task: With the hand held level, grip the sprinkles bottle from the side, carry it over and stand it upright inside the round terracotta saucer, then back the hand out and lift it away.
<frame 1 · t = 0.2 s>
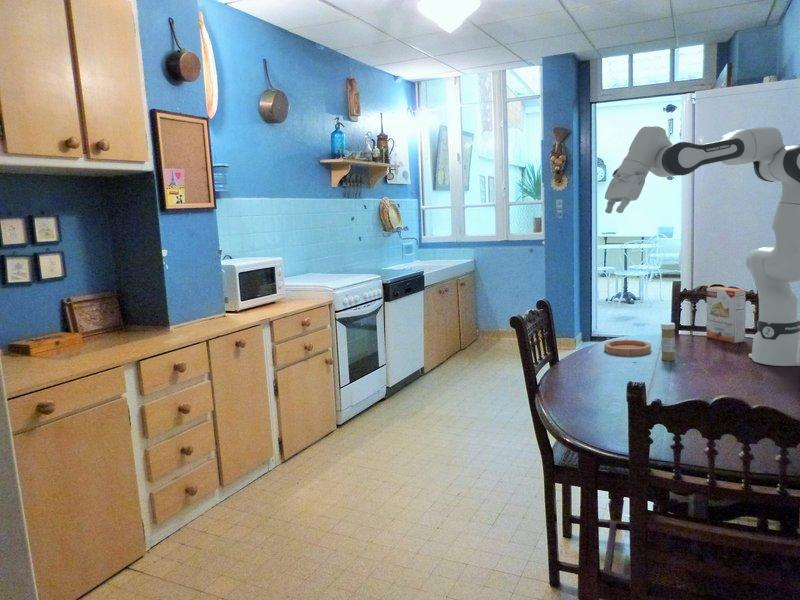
hand: (613, 212, 196), 54 cm above the table, tool tilted 30°, fingers open, 8 cm apart
cracker box: (725, 340, 240), on the table
sprinkles bottle: (668, 360, 216), on the table
terracotta saucer: (627, 350, 233), on the table
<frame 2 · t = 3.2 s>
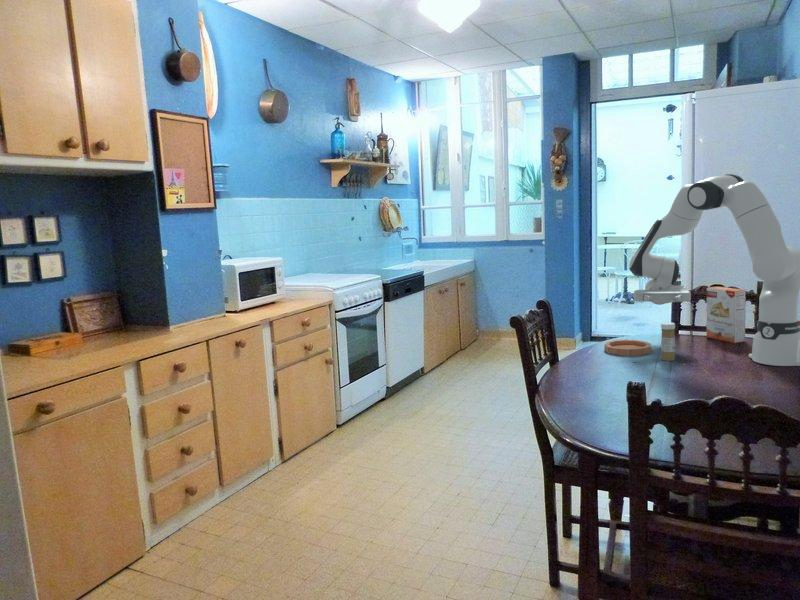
hand: (663, 299, 224), 20 cm above the table, tool horizontal, fingers open, 8 cm apart
nothing on the table moved.
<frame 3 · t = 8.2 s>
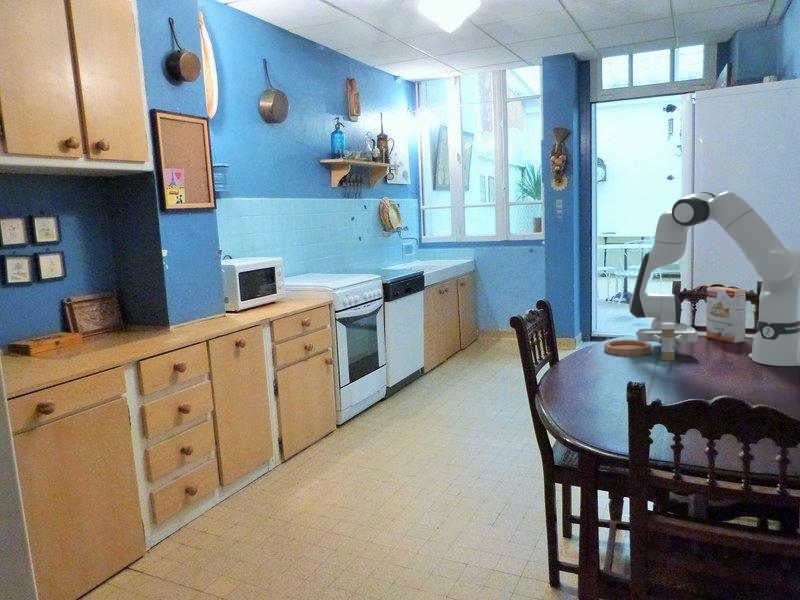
hand: (668, 339, 214), 8 cm above the table, tool horizontal, fingers closed on sprinkles bottle, 4 cm apart
sprinkles bottle: (668, 360, 216), on the table, touching gripper
everything else where it was.
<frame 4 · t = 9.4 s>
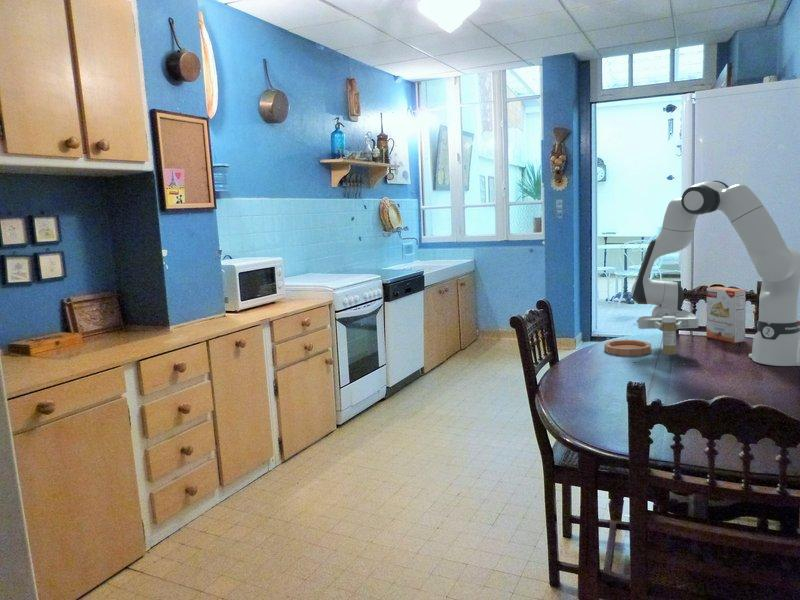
hand: (669, 326, 213), 12 cm above the table, tool horizontal, fingers closed on sprinkles bottle, 4 cm apart
sprinkles bottle: (669, 354, 215), point 2 cm above the table, touching gripper
everything else where it was.
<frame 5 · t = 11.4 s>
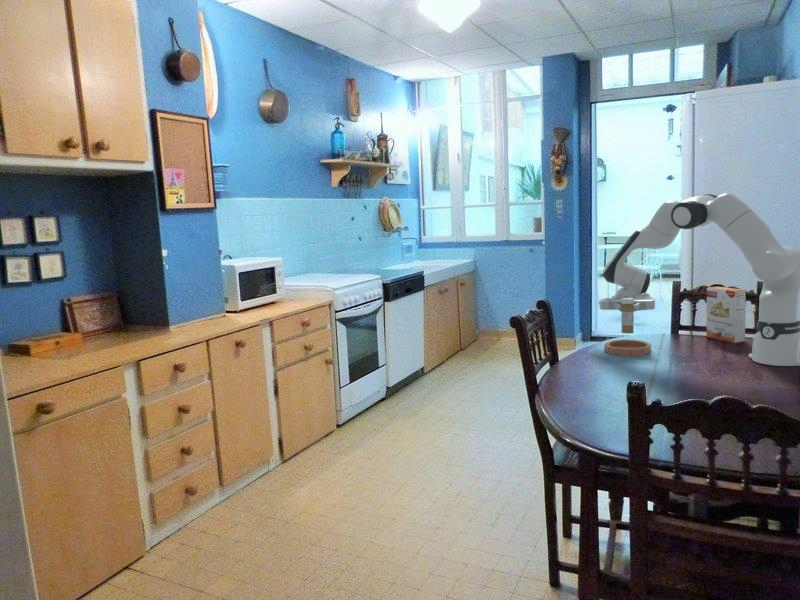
hand: (627, 307, 229), 17 cm above the table, tool horizontal, fingers closed on sprinkles bottle, 4 cm apart
sprinkles bottle: (627, 333, 232), point 7 cm above the table, touching gripper
everything else where it was.
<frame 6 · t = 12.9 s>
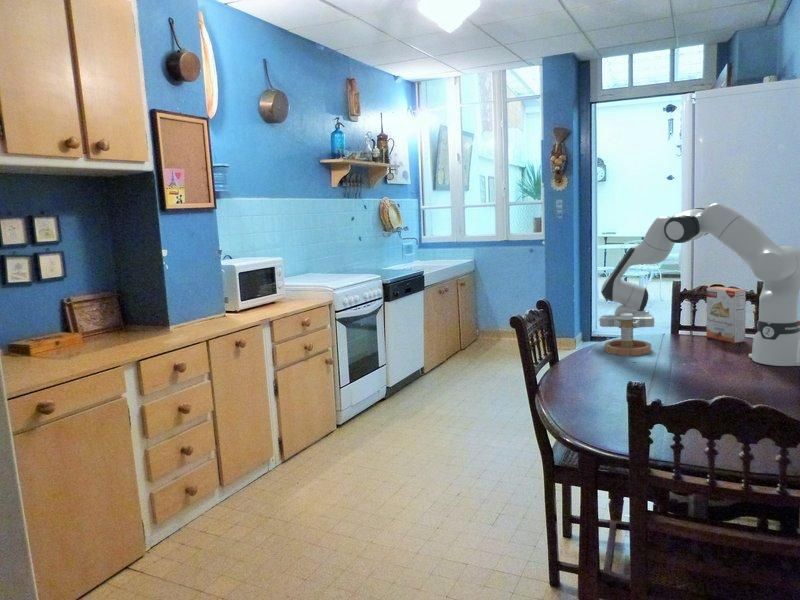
hand: (627, 324, 231), 10 cm above the table, tool horizontal, fingers closed on sprinkles bottle, 4 cm apart
sprinkles bottle: (627, 348, 233), point 1 cm above the table, touching gripper, terracotta saucer
everything else where it was.
when the fingers open (10 cm above the table, at t = 13.6 s): sprinkles bottle stays where it is, resting on terracotta saucer.
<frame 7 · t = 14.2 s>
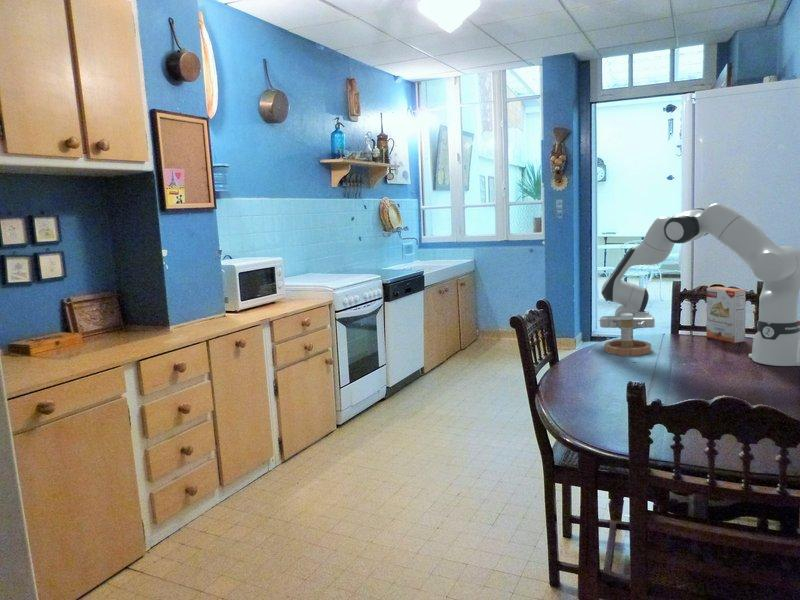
hand: (627, 325, 231), 10 cm above the table, tool horizontal, fingers open, 8 cm apart
sprinkles bottle: (627, 348, 233), point 1 cm above the table, touching terracotta saucer
everything else where it was.
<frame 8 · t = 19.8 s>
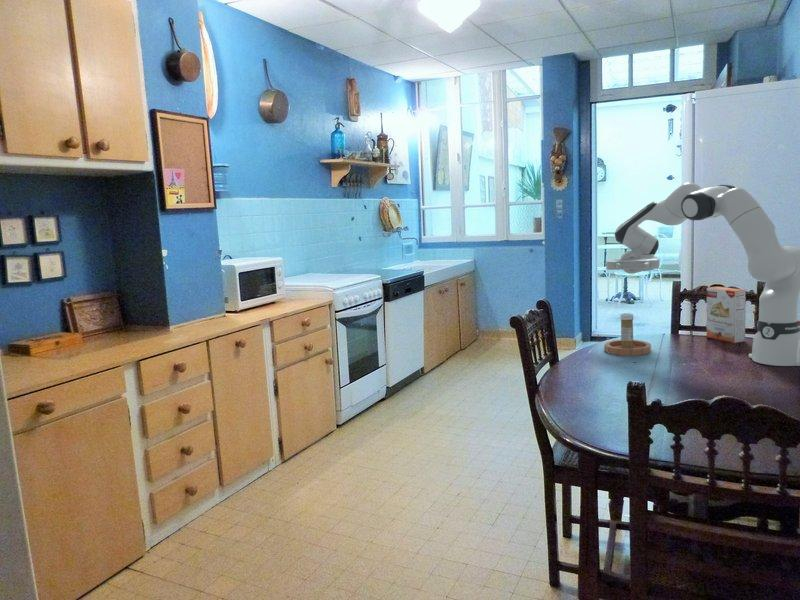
hand: (632, 266, 237), 32 cm above the table, tool horizontal, fingers open, 8 cm apart
nothing on the table moved.
at the end: sprinkles bottle inside the target area on the terracotta saucer (0.2 cm from its centre), point 0.8 cm above the terracotta saucer's base; sprinkles bottle tilted 0°; the gripper is holding nothing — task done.
